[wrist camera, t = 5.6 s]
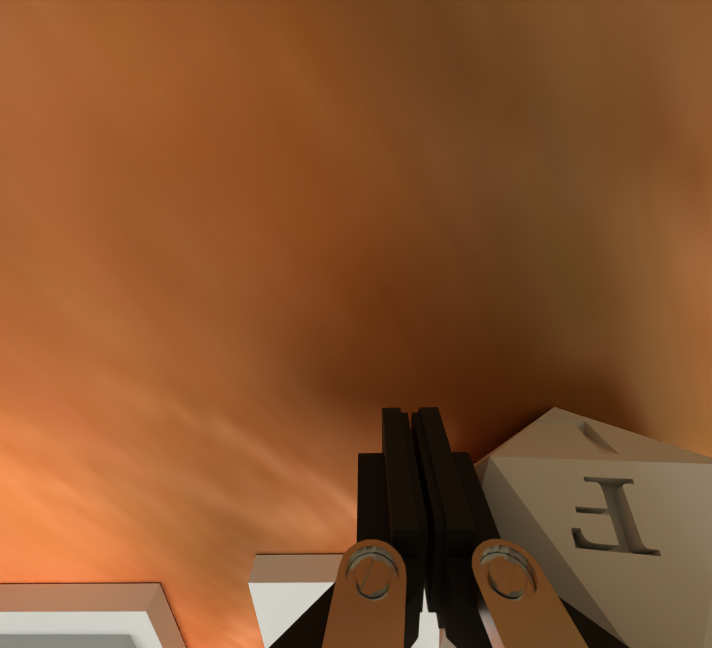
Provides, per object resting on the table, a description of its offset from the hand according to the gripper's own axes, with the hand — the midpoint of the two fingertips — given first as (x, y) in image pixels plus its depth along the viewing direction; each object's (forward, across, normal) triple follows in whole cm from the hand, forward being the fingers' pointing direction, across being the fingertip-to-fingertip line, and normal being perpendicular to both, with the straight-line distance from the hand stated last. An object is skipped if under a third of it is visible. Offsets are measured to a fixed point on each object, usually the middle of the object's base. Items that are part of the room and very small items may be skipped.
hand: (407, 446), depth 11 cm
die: (+2, -4, +3) cm, 6 cm away
